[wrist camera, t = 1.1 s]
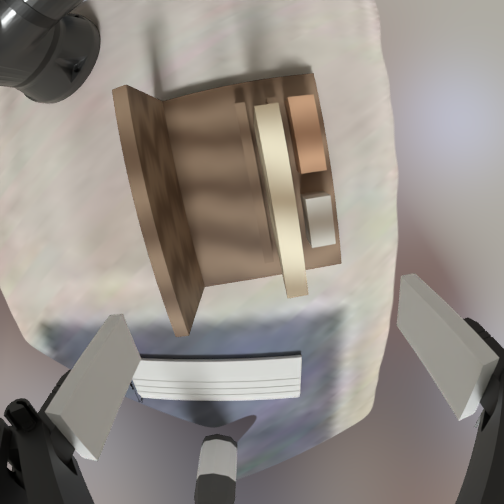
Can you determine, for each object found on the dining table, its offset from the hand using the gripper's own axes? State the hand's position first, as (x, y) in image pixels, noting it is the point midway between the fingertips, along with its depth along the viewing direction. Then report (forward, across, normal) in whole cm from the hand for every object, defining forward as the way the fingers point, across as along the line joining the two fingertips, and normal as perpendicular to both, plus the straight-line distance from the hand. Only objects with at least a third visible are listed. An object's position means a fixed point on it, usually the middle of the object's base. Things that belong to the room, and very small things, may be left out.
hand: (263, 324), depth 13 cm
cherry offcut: (+27, +7, +8) cm, 29 cm away
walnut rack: (+28, 0, +3) cm, 28 cm away
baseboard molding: (+29, -12, -30) cm, 44 cm away
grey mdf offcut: (+27, +7, -2) cm, 28 cm away
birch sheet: (+27, +2, +3) cm, 27 cm away
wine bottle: (+28, -16, -50) cm, 60 cm away
